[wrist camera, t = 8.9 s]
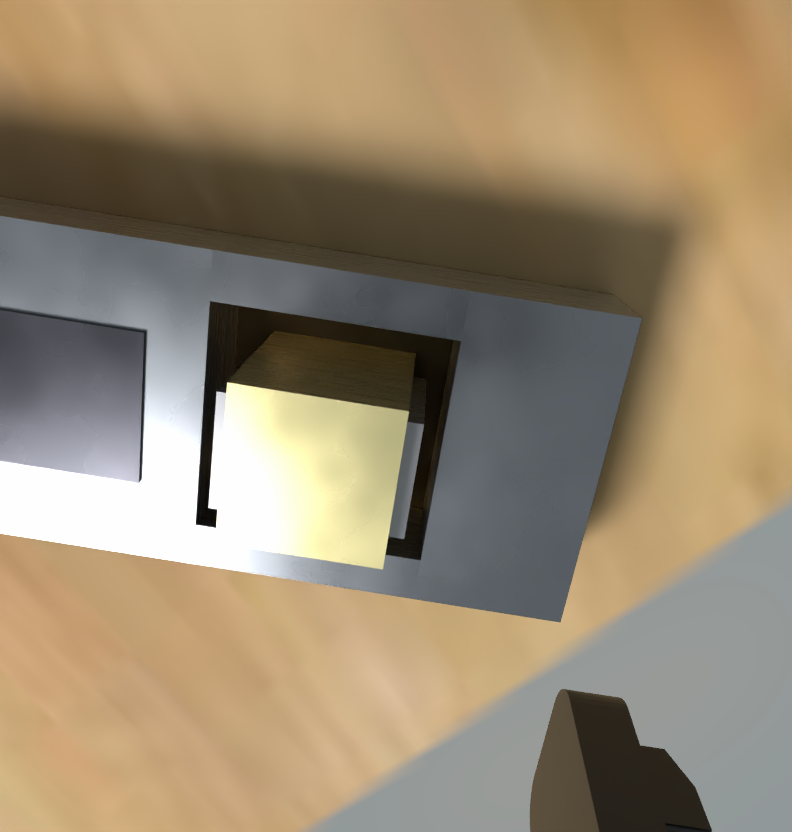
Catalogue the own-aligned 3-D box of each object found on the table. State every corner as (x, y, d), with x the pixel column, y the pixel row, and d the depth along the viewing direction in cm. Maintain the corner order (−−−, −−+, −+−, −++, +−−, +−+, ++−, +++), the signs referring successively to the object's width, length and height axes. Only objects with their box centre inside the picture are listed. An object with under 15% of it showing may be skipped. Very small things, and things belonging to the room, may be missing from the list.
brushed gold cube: (261, 328, 21) (209, 379, 16) (429, 355, 21) (427, 414, 16) (249, 457, 22) (198, 540, 17) (407, 482, 22) (399, 572, 17)
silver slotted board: (-198, 165, 20) (-307, 167, 17) (612, 294, 20) (643, 319, 17) (-163, 450, 23) (-252, 495, 20) (545, 563, 23) (561, 624, 20)
